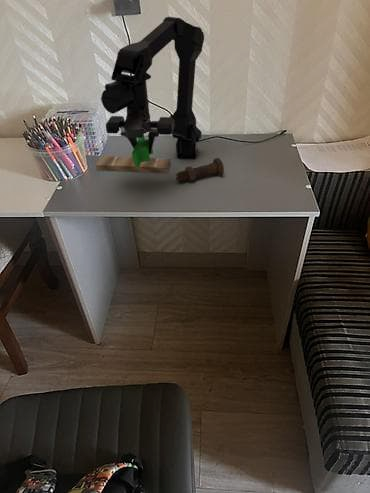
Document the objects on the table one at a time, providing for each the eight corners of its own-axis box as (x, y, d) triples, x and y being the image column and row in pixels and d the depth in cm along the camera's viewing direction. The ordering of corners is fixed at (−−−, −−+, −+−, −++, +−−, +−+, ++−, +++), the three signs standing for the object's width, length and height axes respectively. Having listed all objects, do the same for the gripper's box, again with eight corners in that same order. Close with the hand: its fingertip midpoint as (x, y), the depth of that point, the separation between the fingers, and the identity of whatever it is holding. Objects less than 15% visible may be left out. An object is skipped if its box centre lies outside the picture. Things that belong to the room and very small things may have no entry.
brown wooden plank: (170, 164, 128) (169, 158, 126) (167, 173, 123) (166, 167, 122) (102, 161, 131) (101, 155, 129) (97, 170, 126) (95, 164, 125)
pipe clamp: (147, 166, 108) (144, 152, 105) (135, 167, 109) (131, 153, 106) (155, 147, 116) (151, 134, 113) (143, 148, 117) (140, 135, 114)
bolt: (177, 186, 121) (219, 175, 124) (181, 187, 116) (225, 175, 119) (172, 168, 119) (215, 157, 123) (176, 168, 115) (221, 156, 118)
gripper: (94, 111, 96) (105, 165, 107) (166, 112, 94) (170, 167, 105) (107, 95, 105) (116, 146, 115) (173, 96, 102) (176, 148, 113)
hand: (143, 152), depth 112 cm, fingers closed on pipe clamp, 4 cm apart
